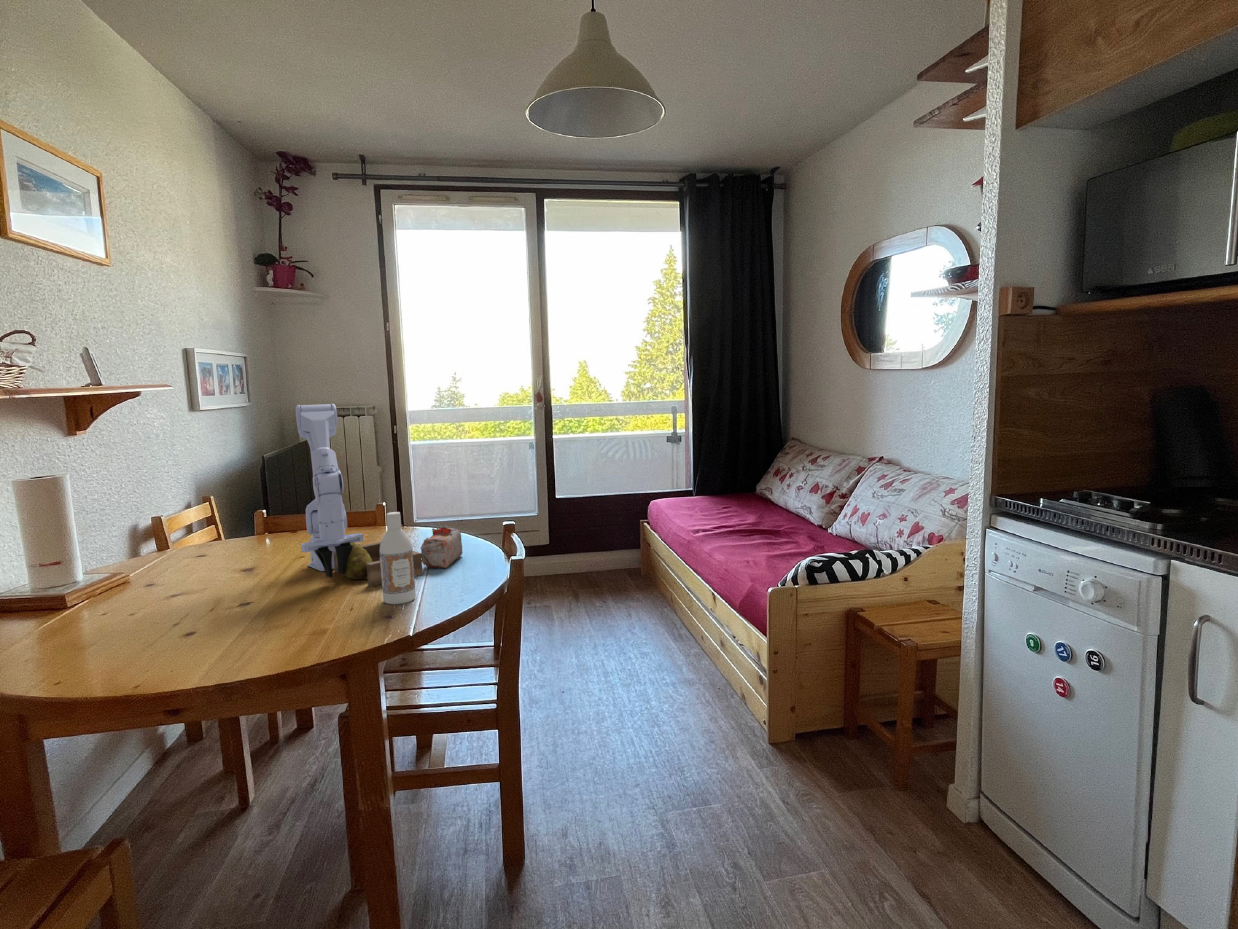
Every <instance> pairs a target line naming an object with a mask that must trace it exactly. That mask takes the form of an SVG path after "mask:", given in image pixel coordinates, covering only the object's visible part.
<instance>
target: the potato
mask: <svg viewBox="0 0 1238 929" xmlns="http://www.w3.org/2000/svg"><path fill="white" fill-rule="evenodd" d="M356 543H357V542H354V543H350V545H352V551H351V553H350V555H349V557H348V560H347V564H346V569H345V574H343V575H344V576H345V577H347V578H349V579H351V580H366V579H368V576H367V563H371V562H373V561H372V559H371V557H370V555H369V553H368V551H366V550H365V549H363V548H362V545H361V544H360V545H359V544H356ZM336 560H337V556H336ZM337 565H338V560H337Z"/></svg>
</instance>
